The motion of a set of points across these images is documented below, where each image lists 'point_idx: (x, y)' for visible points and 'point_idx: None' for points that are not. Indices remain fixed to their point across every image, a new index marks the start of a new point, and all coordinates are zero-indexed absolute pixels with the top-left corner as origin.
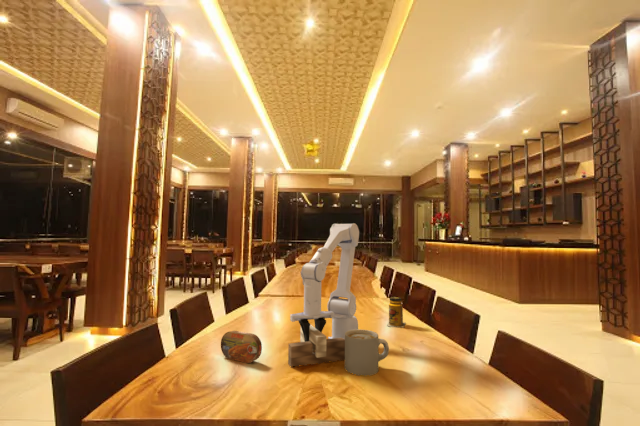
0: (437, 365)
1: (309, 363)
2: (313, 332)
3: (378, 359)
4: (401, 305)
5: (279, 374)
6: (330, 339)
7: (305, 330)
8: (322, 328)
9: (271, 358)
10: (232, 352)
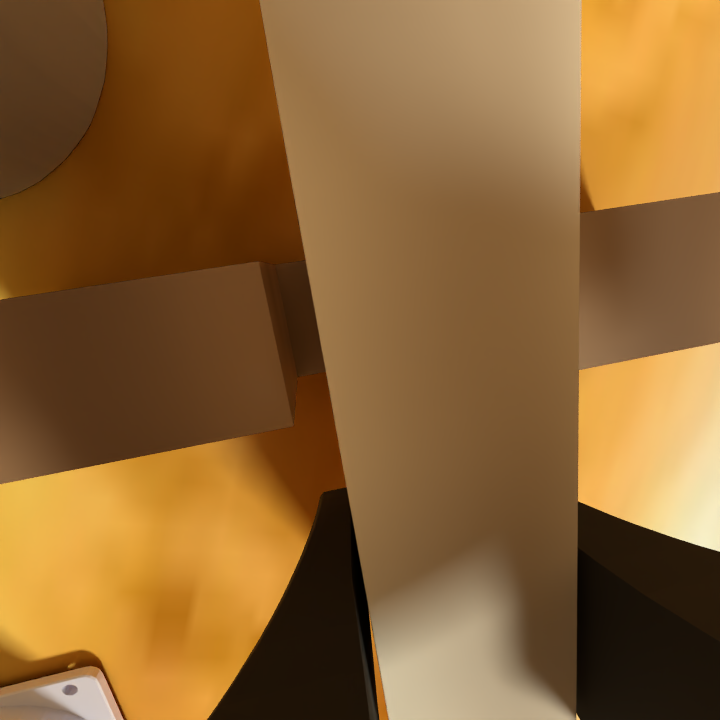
0: None
1: None
2: (533, 454)
3: None
4: None
5: (716, 93)
6: (142, 421)
7: (699, 546)
8: (257, 670)
9: (673, 426)
10: None
